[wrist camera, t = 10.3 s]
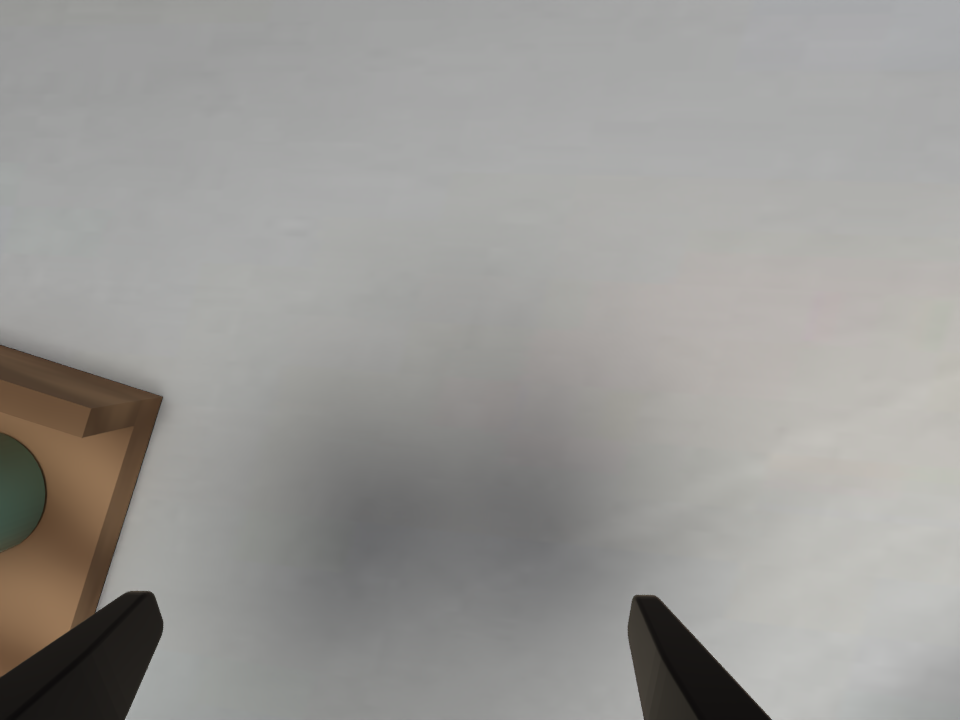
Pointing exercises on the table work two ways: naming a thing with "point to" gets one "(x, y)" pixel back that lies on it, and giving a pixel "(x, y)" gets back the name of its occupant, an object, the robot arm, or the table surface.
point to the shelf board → (66, 493)
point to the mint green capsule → (18, 493)
